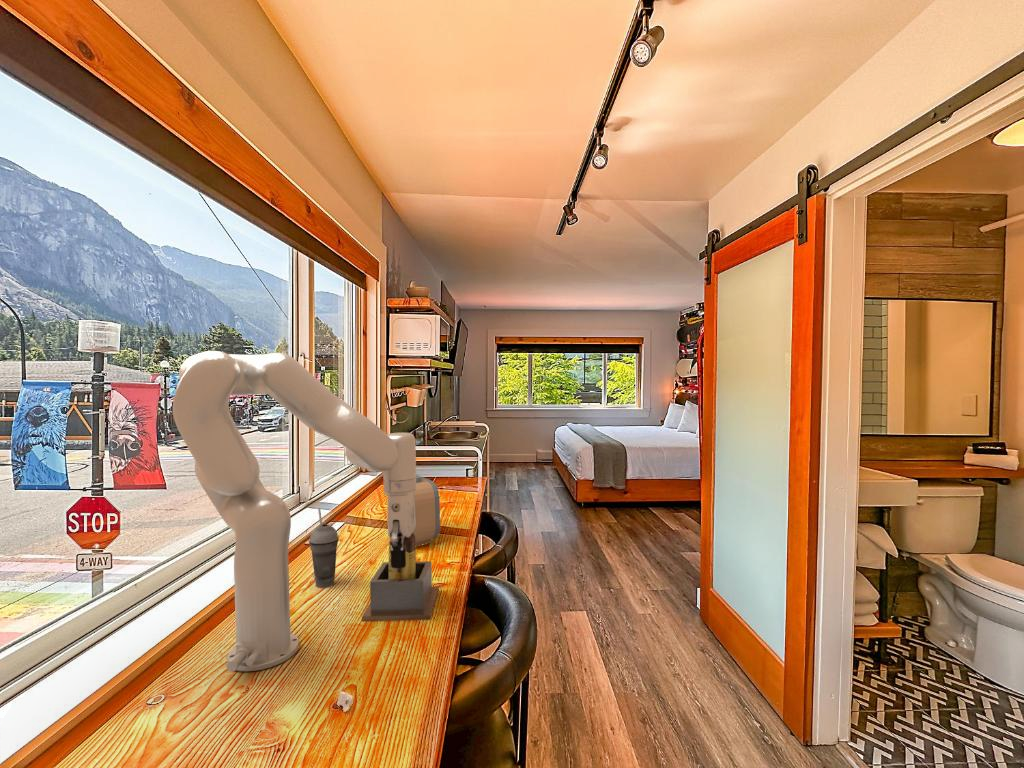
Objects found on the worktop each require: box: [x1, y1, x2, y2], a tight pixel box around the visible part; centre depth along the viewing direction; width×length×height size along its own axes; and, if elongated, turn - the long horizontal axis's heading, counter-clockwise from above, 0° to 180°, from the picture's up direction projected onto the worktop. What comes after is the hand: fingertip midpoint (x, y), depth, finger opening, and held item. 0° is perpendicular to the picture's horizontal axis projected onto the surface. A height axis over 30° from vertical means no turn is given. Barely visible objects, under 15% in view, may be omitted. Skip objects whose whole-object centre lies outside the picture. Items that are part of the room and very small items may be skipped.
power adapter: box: [336, 690, 354, 713], centre depth 82 cm, size 3×3×3 cm
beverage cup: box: [308, 507, 339, 589], centre depth 131 cm, size 7×7×20 cm
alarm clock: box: [413, 473, 441, 547], centre depth 166 cm, size 21×10×22 cm, turn 34°
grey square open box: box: [361, 560, 440, 622], centre depth 119 cm, size 15×15×8 cm
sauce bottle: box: [388, 532, 417, 579], centre depth 119 cm, size 7×6×20 cm
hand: (401, 560), depth 119 cm, fingers closed on sauce bottle, 6 cm apart
